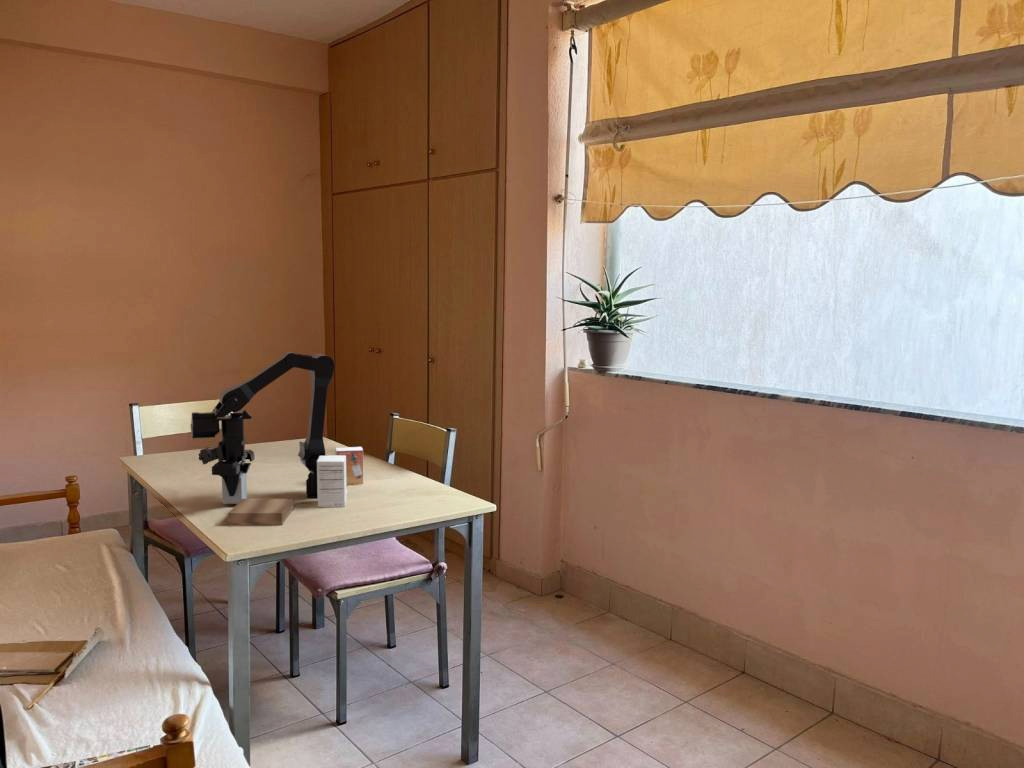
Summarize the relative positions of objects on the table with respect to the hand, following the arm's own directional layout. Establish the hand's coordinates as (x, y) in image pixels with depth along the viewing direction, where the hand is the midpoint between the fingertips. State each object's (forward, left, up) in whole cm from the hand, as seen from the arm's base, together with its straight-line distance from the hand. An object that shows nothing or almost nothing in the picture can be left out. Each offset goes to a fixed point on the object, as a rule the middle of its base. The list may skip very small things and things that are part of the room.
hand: (234, 493), depth 210 cm
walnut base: (-10, +12, -3) cm, 16 cm away
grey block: (0, 0, -2) cm, 2 cm away
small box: (-27, -23, -3) cm, 36 cm away
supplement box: (-26, -1, -3) cm, 26 cm away
